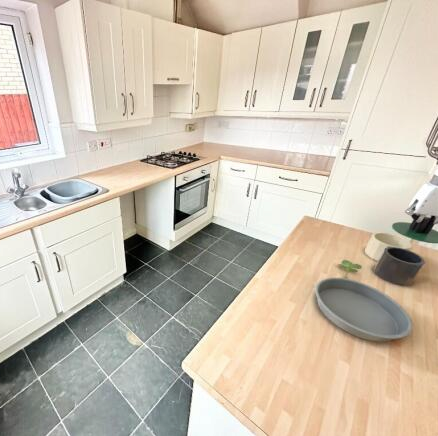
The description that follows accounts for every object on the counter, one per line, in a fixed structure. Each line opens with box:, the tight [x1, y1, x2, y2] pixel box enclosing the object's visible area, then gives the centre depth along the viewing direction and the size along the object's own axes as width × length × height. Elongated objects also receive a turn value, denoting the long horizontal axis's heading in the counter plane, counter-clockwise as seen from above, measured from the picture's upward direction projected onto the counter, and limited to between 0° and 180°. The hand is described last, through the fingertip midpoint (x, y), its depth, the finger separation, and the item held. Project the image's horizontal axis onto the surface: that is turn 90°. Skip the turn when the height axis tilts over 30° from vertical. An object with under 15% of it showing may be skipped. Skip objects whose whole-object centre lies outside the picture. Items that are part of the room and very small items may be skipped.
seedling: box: [337, 259, 362, 278], centre depth 96 cm, size 7×8×7 cm
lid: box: [391, 216, 438, 244], centre depth 85 cm, size 14×14×7 cm
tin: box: [364, 231, 413, 262], centre depth 104 cm, size 13×13×8 cm
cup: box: [373, 247, 426, 286], centre depth 93 cm, size 11×11×10 cm
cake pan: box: [315, 277, 414, 343], centre depth 79 cm, size 25×25×4 cm
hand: (418, 231), depth 86 cm, fingers closed on lid, 2 cm apart
